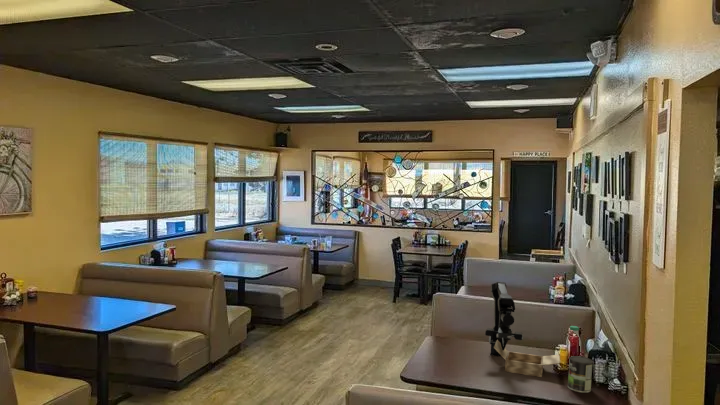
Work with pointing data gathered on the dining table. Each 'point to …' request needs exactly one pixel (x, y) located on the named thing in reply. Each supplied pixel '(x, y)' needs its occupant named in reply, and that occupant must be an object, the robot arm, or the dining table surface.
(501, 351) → the flap
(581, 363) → the coffee can
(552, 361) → the flap
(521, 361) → the carton
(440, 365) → the dining table surface
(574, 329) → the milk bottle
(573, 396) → the dining table surface
